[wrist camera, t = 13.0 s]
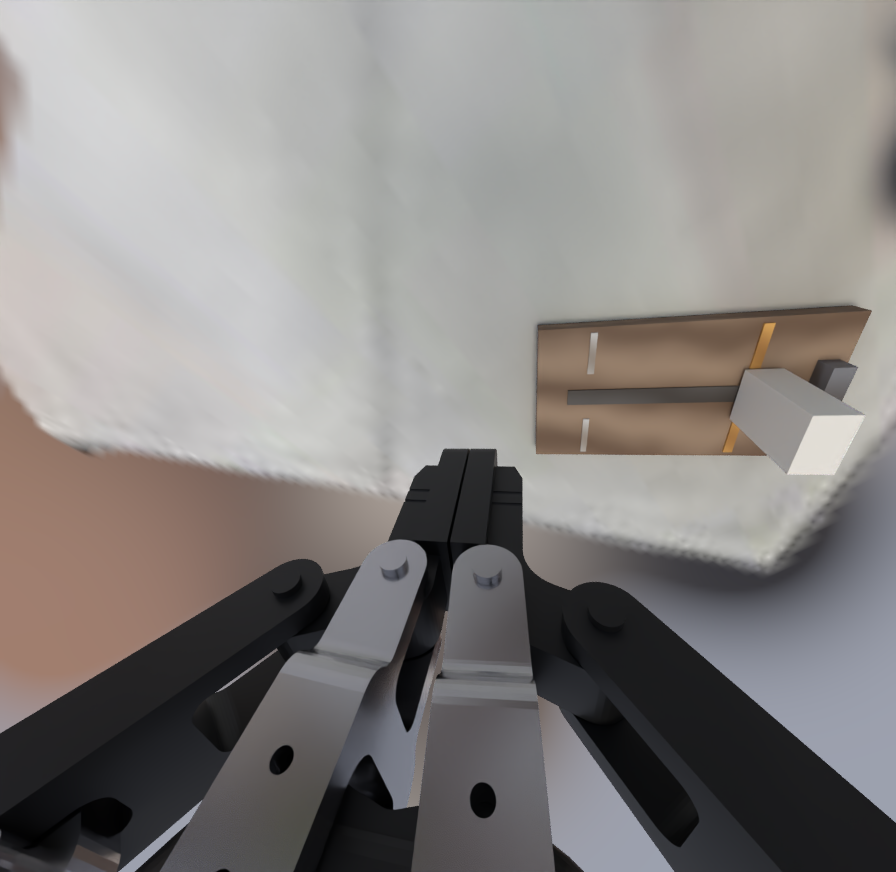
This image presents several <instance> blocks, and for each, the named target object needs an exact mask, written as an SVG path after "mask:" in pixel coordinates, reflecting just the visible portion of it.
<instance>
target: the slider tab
mask: <svg viewBox="0 0 896 872" xmlns="http://www.w3.org/2000/svg"><path fill="white" fill-rule="evenodd" d="M865 416H866V415H865V414H863V413H861V412H859V411H858V410H856V409H854V408H852V407H851V406H849V405H847V404H845V403H844V402H842V401H840V400H838V399H837V398H835V397H833V396H831V395H830V394H828V393H826V392H824V391H823V390H821V389H819V388H817V387H816V386H814V385H812V384H810V383H809V382H807V381H805V380H804V379H802V378H800V377H798V376H797V375H795V374H793V373H791V372H790V371H788V370H786V369H784V368H778V369H749V370H745V372H744V375H743V378H742V381H741V384H740V387H739V390H738V394H737V397H736V400H735V403H734V406H733V409H732V412H731V415H730V420H731V421H732V422H733V423H734V424H735V425H736V426H737V427H738V428H739V429H741V430H742V431H743V432H744V433H745V434H746V435H747V436H748V437H749V438H750V439H751V440H752V441H753V442H754V443H755V444H756V445H757V446H758V447H759V448H760V449H761V450H762V451H763V452H764V453H765V454H766V455H767V456H768V457H769V458H771V459H772V460H773V461H774V462H775V463H776V464H777V465H778V466H779V467H780V468H781V469H782V470H783V471H784V472H785V473H786V474H796V475H834V474H835V472H836V471H837V469H838V467H839V465H840V463H841V461H842V459H843V457H844V455H845V454H846V452H847V450H848V448H849V446H850V444H851V442H852V440H853V438H854V437H855V435H856V433H857V431H858V429H859V427H860V425H861V423H862V421H863V420H864V418H865Z"/></svg>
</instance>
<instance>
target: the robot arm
mask: <svg viewBox="0 0 896 872" xmlns="http://www.w3.org/2000/svg"><path fill="white" fill-rule="evenodd" d="M522 535H523V520H522V477H521V476H520V474H519V473H518V471H517V470H516V468H515V467H500V466H497V450H496V449H471V450H470V449H444V450H443V452H442V455H441V458H440V461H439V464H438V466H428V465H426V466H425V467H424V468H423V469H422V470H421V471H420V472H419V473H418V474H417V475H415V477H414V479H413V482H412V484H411V486H410V491H408V494H407V496H406V499H405V502H404V503H403V506H402V508H401V511H400V513H399V516H398V518H397V520H396V523H395V525H394V528H393V530H392V533H391V535H390V537H389V540H388V542H386V543H383V544H381V545H379V546H378V547H376V548H375V549H374V550H372V551H371V552H370V553H369V554H368V555H367V557H366V558H365V560H364V561H363V563H362V565H361V566H359V567H356V568H352V569H348V570H343V571H338V572H334V573H329V574H324V573H323V571H322V569H321V567H320V566H319V565H318V564H317V563H316V562H314V561H312V560H308V559H298V560H292V561H289V562H286V563H284V564H282V565H280V566H278V567H276V568H274V569H273V570H271V571H269V572H268V573H266V574H265V575H263V576H261V577H259V578H258V579H256V580H254V581H253V582H251V583H249V584H248V585H246V586H244V587H243V588H241V589H239V590H238V591H236V592H234V593H233V594H231V595H230V596H228V597H226V598H225V599H223V600H221V601H220V602H218V603H216V604H215V605H213V606H211V607H210V608H208V609H207V610H205V611H203V612H201V613H200V614H198V615H196V616H195V617H193V618H191V619H190V620H188V621H186V622H185V623H183V624H181V625H180V626H178V627H176V628H175V629H173V630H171V631H170V632H168V633H167V634H165V635H163V636H161V637H160V638H158V639H157V640H155V641H153V642H151V643H150V644H148V645H147V646H145V647H143V648H141V649H140V650H138V651H137V652H135V653H133V654H132V655H130V656H128V657H127V658H125V659H123V660H122V661H120V662H118V663H117V664H115V665H114V666H112V667H110V668H108V669H107V670H105V671H104V672H102V673H100V674H98V675H97V676H95V677H93V678H92V679H90V680H88V681H87V682H85V683H83V684H82V685H80V686H78V687H77V688H75V689H74V690H72V691H70V692H68V693H67V694H65V695H63V696H62V697H60V698H58V699H57V700H55V701H53V702H52V703H50V704H49V705H47V706H45V707H43V708H42V709H40V710H39V711H37V712H35V713H34V714H32V715H30V716H29V717H27V718H25V719H24V720H22V721H20V722H19V723H17V724H15V725H14V726H12V727H10V728H9V729H7V730H5V731H4V732H2V733H0V872H118V871H120V870H121V869H122V868H123V867H124V866H125V865H127V864H128V863H129V862H130V861H131V860H132V859H134V858H135V857H136V856H137V855H138V854H139V853H141V852H142V851H143V850H144V849H145V848H147V847H148V846H149V845H150V844H151V843H152V842H154V841H155V840H156V839H157V838H158V837H159V836H161V835H162V834H163V833H164V832H165V831H166V830H168V829H169V828H170V827H171V826H172V825H173V824H174V823H176V822H177V821H178V820H179V819H180V818H182V817H183V816H184V815H185V814H186V813H187V812H189V811H190V810H191V809H192V808H193V807H194V806H196V805H197V804H198V803H199V802H200V801H201V800H202V802H201V804H200V805H199V807H198V809H197V810H196V812H195V814H194V815H193V817H192V819H191V820H190V822H189V823H188V824H187V825H186V826H185V827H184V828H183V829H182V830H180V831H179V832H178V833H177V834H176V835H175V836H174V837H172V838H171V839H170V840H169V841H168V842H167V843H166V844H165V845H164V846H163V847H161V849H159V850H158V851H157V852H156V853H155V854H154V855H153V856H152V857H151V858H149V859H148V860H147V861H146V862H145V863H144V864H143V865H142V866H141V867H140V868H138V869H137V870H136V871H135V872H584V871H583V870H582V869H581V868H580V867H578V865H577V864H576V863H575V862H574V861H573V860H572V859H571V858H570V857H569V856H567V855H566V854H565V853H563V852H562V851H561V850H560V849H559V848H557V847H556V846H555V845H554V844H552V836H551V828H550V827H551V826H550V816H549V806H548V796H547V787H546V777H545V767H544V757H543V748H542V738H541V728H540V718H539V708H538V699H537V695H538V696H540V697H542V698H544V699H546V700H548V701H550V702H552V703H554V704H556V705H558V706H559V708H560V710H561V712H562V714H563V716H564V717H565V719H566V720H567V722H568V723H569V724H570V726H571V727H572V728H573V730H574V731H575V733H576V734H577V736H578V737H579V738H580V740H581V741H582V743H583V744H584V745H585V747H586V748H587V750H588V751H589V752H590V754H591V755H592V757H593V758H594V759H595V761H596V762H597V763H598V765H599V766H600V768H601V769H602V771H603V772H604V773H605V775H606V776H607V778H608V779H609V780H610V782H611V783H612V785H613V786H614V787H615V789H616V790H617V792H618V793H619V794H620V796H621V797H622V799H623V800H624V802H625V803H626V804H627V806H628V807H629V808H630V810H631V811H632V813H633V814H634V816H635V817H636V818H637V820H638V821H639V823H640V824H641V825H642V826H643V828H644V830H645V831H646V832H647V834H648V835H649V837H650V838H651V839H652V841H653V842H654V844H655V845H656V846H657V848H658V849H659V851H660V852H661V853H662V855H663V856H664V858H665V859H666V860H667V862H668V863H669V865H670V866H671V867H672V869H673V870H674V872H896V823H895V822H894V821H893V820H892V819H891V818H889V817H888V816H887V815H886V814H885V813H884V812H882V811H881V810H880V809H879V808H878V807H877V806H875V805H874V804H873V803H872V802H871V801H870V800H869V799H867V798H866V797H865V796H864V795H863V794H862V793H860V792H859V791H858V790H857V789H856V788H855V787H854V786H852V785H851V784H850V783H849V782H848V781H846V780H845V779H844V778H843V777H842V776H841V775H840V774H838V773H837V772H836V771H835V770H834V769H833V768H831V767H830V766H829V765H828V764H827V763H826V762H824V761H823V760H822V759H821V758H820V757H819V756H817V755H816V754H815V753H814V752H813V751H812V750H811V749H809V748H808V747H807V746H806V745H804V743H802V742H801V741H800V740H799V739H798V738H797V737H795V736H794V735H793V734H792V733H791V732H790V731H788V730H787V729H786V728H785V727H783V725H782V724H780V723H779V722H778V721H777V720H776V719H774V718H773V717H772V716H771V715H770V714H768V712H766V711H765V710H764V709H763V708H762V707H760V706H759V705H758V704H757V703H756V702H755V701H754V700H752V699H751V698H750V697H749V696H748V695H747V694H746V693H744V692H743V691H742V690H741V689H740V688H739V687H737V686H736V685H735V684H734V683H733V682H732V681H730V680H729V679H728V678H727V677H726V676H725V675H723V674H722V673H721V672H720V671H719V670H718V669H716V668H715V667H714V666H713V665H712V664H711V663H710V662H708V661H707V660H706V659H705V658H704V657H703V656H701V655H700V654H699V653H698V652H697V651H696V650H694V649H693V648H692V647H691V646H690V645H688V644H687V643H686V642H685V641H684V640H683V639H682V638H680V637H679V636H678V635H677V634H676V633H675V632H674V631H672V630H671V629H670V628H669V627H668V626H666V625H665V624H664V623H663V622H662V621H661V620H659V619H658V618H657V617H656V616H655V615H654V614H653V613H651V612H650V611H649V610H648V609H647V608H646V607H644V606H643V605H642V604H641V603H640V602H639V601H637V600H636V599H635V598H634V597H633V596H631V595H630V594H629V593H627V592H626V591H624V590H622V589H621V588H618V587H616V586H614V585H610V584H607V583H601V582H589V583H584V584H581V585H578V586H576V587H575V588H573V589H572V590H571V591H570V590H567V589H564V588H562V587H559V586H556V585H553V584H551V583H549V582H547V581H545V580H543V579H541V578H540V577H539V576H537V575H536V574H535V573H534V572H533V571H532V570H531V569H530V568H529V566H528V565H527V563H526V562H525V559H524V556H523V550H522V549H523V543H522V542H523V536H522ZM445 611H448V619H447V628H446V638H445V648H444V657H443V665H442V670H441V673H440V674H438V675H437V677H436V680H435V684H434V689H433V695H432V702H431V710H430V718H429V727H428V735H427V744H426V752H425V761H424V769H423V777H422V785H421V794H420V803H419V806H415V807H408V808H406V806H407V803H408V799H409V795H410V791H411V786H412V781H413V775H414V767H415V748H416V741H417V735H418V731H419V727H420V723H421V719H422V715H423V712H424V708H425V704H426V700H427V696H428V693H429V689H430V685H431V682H432V678H433V674H434V670H435V666H436V663H437V659H438V655H439V651H440V647H441V642H442V635H441V630H442V624H443V619H444V614H445ZM276 648H277V649H278V651H276V652H275V653H274V654H272V655H271V656H270V657H268V658H267V659H265V660H264V661H263V662H261V663H260V664H259V665H257V666H256V667H255V668H253V669H252V670H250V671H249V672H248V673H246V674H245V675H243V676H242V677H241V678H239V679H238V680H237V681H235V682H234V683H232V684H231V685H230V686H228V687H227V688H225V689H223V690H221V691H219V692H216V691H218V690H219V689H221V688H222V687H223V686H225V685H226V684H228V683H229V682H230V681H232V680H233V679H234V678H236V677H237V676H239V675H240V674H241V673H243V672H244V671H245V670H247V669H248V668H250V667H251V666H252V665H254V664H255V663H256V662H258V661H259V660H261V659H262V658H264V657H265V656H266V655H268V654H269V653H270V652H272V651H273V650H275V649H276ZM215 692H216V693H215Z"/></svg>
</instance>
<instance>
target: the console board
mask: <svg viewBox="0 0 896 872" xmlns="http://www.w3.org/2000/svg"><path fill="white" fill-rule="evenodd" d="M871 312H872V311H871V310H867V309H864V308H860V307H856V306H838V307H822V308H806V309H790V310H774V311H758V312H742V313H726V314H710V315H694V316H678V317H662V318H645V319H629V320H613V321H597V322H581V323H565V324H549V325H538V350H537V401H536V454H608V455H751V456H767V455H766V454H765V453H764V452H763V451H762V450H761V449H760V448H759V447H758V446H757V445H756V444H755V443H754V442H753V441H752V440H751V439H750V438H749V437H748V436H747V435H746V434H745V433H744V432H743V431H742V430H741V429H739V428H738V427H737V426H736V425H735V424H734V423H733V422H732V421H731V420H730V415H731V412H732V409H733V406H734V403H735V400H736V397H737V394H738V390H739V387H740V384H741V381H742V378H743V375H744V372H745V370H749V369H778V368H784V369H786V370H788V371H790V372H791V373H793V374H795V375H797V376H798V377H800V378H802V379H804V380H805V381H807V382H809V383H810V384H812V385H814V386H816V387H817V388H819V389H821V390H823V391H824V392H826V393H828V394H830V395H831V396H833V397H835V398H837V399H838V400H840V401H842V400H843V398H844V395H845V393H846V391H847V389H848V387H849V385H850V383H851V381H852V379H853V377H854V375H855V373H856V371H857V368H858V367H856V366H854V365H852V364H850V363H848V361H849V359H850V357H851V355H852V353H853V350H854V348H855V346H856V344H857V342H858V340H859V338H860V335H861V333H862V331H863V329H864V327H865V325H866V322H867V320H868V318H869V316H870V314H871Z"/></svg>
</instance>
